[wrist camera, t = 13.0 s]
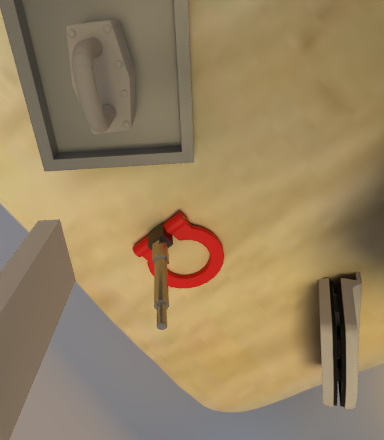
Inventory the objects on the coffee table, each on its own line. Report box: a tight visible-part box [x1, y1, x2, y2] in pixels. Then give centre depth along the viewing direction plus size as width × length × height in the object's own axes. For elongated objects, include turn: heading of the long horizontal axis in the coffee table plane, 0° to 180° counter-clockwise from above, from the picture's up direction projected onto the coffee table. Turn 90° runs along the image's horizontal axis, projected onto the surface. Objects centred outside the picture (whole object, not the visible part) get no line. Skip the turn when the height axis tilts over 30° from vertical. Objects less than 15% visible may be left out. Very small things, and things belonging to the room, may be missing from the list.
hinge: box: [319, 272, 362, 409], centre depth 42 cm, size 17×5×10 cm, turn 12°
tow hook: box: [133, 212, 224, 330], centre depth 33 cm, size 8×13×9 cm
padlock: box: [66, 20, 136, 134], centre depth 24 cm, size 7×4×10 cm, turn 6°
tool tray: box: [0, 0, 194, 171], centre depth 28 cm, size 13×15×2 cm
